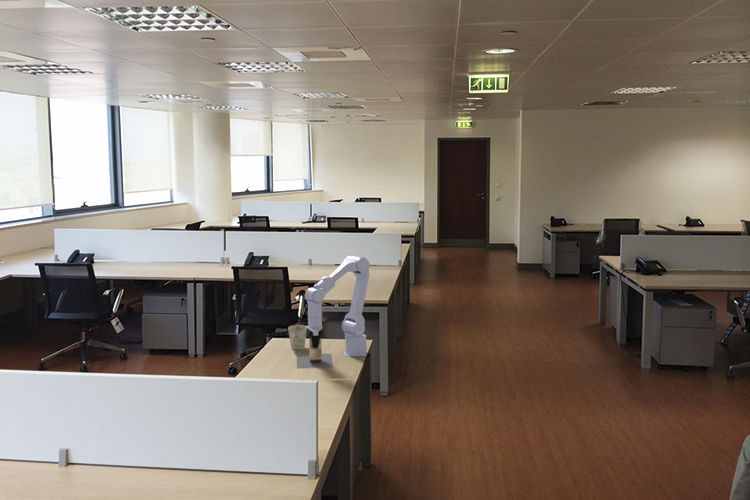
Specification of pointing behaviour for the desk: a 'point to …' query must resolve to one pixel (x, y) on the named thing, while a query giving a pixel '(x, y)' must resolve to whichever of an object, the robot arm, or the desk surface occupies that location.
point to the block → (315, 351)
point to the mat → (305, 362)
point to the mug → (297, 336)
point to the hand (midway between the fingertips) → (315, 347)
